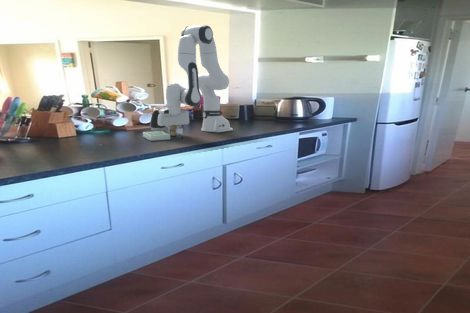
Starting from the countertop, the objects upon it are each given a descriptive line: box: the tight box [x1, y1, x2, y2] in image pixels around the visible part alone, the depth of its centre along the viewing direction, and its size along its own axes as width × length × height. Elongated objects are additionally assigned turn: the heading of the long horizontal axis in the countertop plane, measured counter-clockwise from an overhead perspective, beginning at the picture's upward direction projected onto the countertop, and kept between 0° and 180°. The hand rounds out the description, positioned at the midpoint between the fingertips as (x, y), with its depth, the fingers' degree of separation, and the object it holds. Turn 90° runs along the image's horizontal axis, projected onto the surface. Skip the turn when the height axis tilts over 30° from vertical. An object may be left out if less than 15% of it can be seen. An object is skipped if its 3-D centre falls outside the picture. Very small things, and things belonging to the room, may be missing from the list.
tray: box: [142, 131, 171, 142], centre depth 219 cm, size 12×14×3 cm
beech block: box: [169, 125, 179, 137], centre depth 229 cm, size 4×4×6 cm
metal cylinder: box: [175, 127, 184, 140], centre depth 222 cm, size 4×4×6 cm
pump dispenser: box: [149, 108, 167, 132], centre depth 240 cm, size 10×10×15 cm
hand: (173, 132), depth 230 cm, fingers closed on beech block, 4 cm apart
